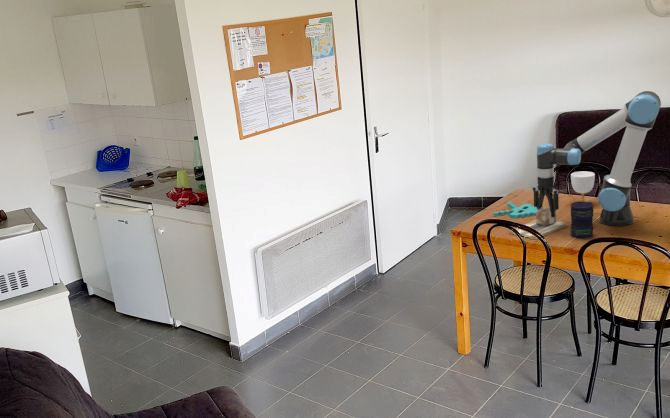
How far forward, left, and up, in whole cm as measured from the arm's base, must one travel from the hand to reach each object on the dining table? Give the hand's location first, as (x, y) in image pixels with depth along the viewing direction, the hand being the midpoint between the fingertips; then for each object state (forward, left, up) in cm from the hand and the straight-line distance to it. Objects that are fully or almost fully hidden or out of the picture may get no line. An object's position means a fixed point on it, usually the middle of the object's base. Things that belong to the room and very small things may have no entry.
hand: (546, 222), depth 322 cm
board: (0, +7, -2) cm, 7 cm away
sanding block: (0, 0, 0) cm, 0 cm away
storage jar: (-20, +2, -2) cm, 21 cm away
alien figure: (+25, -11, -3) cm, 27 cm away
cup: (+5, -38, -2) cm, 38 cm away
